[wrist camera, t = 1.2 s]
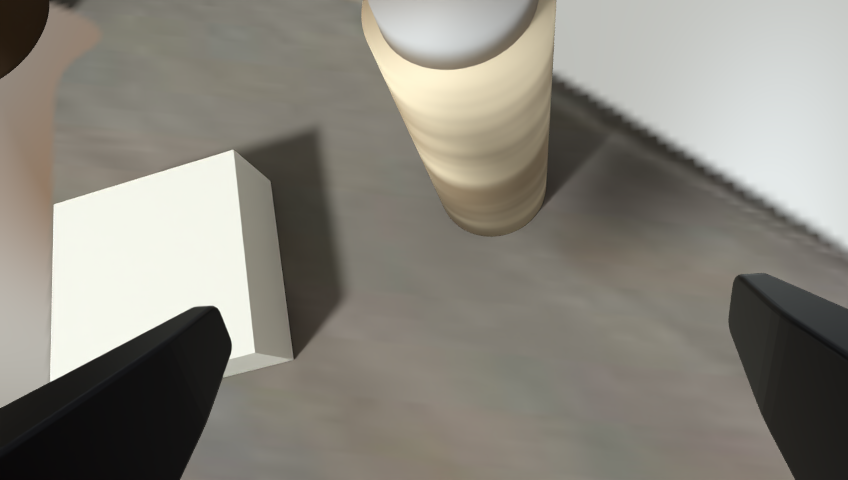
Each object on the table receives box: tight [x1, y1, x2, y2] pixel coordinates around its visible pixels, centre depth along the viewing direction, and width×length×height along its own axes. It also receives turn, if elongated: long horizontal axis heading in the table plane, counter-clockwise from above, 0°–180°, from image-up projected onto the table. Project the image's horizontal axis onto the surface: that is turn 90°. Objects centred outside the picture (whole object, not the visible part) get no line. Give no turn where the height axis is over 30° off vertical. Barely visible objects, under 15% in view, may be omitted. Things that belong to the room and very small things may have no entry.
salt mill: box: [362, 0, 556, 237], centre depth 18 cm, size 5×5×13 cm
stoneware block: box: [50, 150, 294, 382], centre depth 24 cm, size 9×9×4 cm
